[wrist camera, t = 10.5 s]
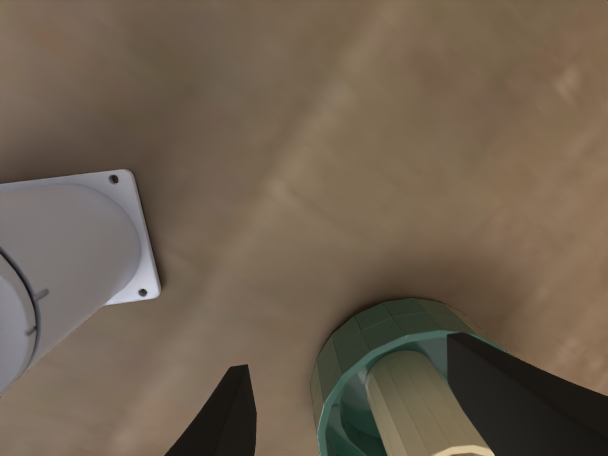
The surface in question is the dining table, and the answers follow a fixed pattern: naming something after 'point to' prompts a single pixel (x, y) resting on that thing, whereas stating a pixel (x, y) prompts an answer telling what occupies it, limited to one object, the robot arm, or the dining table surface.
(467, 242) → the dining table surface
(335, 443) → the bowl
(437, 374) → the cup
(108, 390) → the dining table surface
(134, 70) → the dining table surface
